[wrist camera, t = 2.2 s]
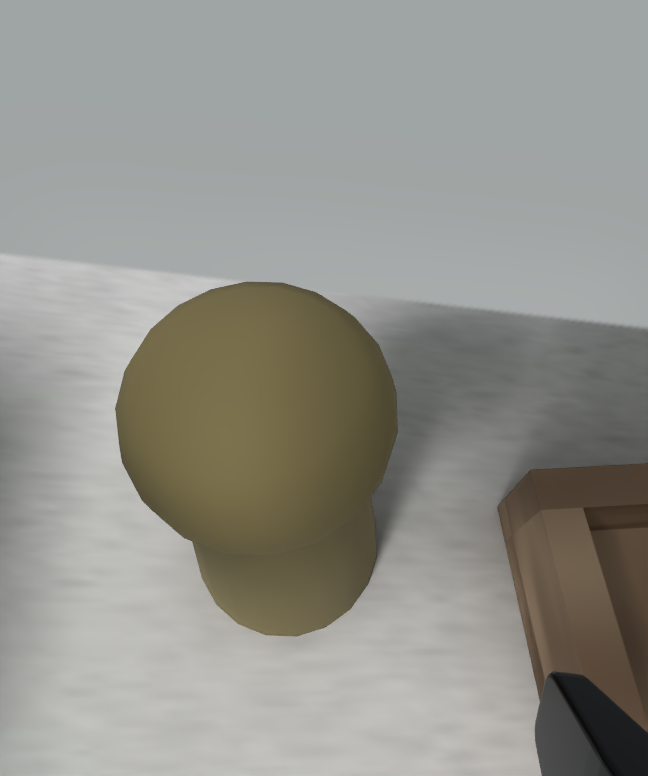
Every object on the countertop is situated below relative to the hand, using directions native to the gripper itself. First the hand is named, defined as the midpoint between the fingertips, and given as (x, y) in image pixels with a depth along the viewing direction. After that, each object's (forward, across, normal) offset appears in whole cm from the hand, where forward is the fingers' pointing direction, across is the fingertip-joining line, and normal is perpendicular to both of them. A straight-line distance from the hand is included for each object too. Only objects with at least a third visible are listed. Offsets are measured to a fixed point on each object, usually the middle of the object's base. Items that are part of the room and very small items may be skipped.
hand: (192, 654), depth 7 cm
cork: (+11, 0, +5) cm, 12 cm away
